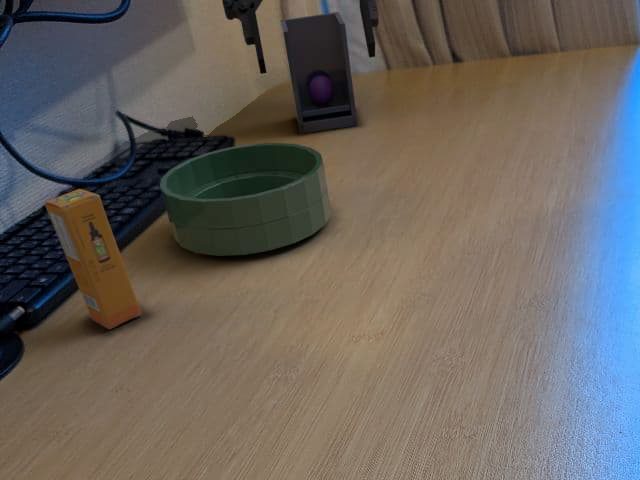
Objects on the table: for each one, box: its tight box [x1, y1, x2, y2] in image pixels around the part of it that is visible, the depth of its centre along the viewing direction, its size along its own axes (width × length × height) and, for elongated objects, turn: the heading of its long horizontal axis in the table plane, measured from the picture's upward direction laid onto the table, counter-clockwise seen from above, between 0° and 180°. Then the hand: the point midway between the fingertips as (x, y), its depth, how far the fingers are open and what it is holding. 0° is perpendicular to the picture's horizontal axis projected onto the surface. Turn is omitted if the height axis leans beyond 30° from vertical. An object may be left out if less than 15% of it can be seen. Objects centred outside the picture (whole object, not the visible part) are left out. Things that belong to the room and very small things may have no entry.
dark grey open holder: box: [279, 11, 359, 135], centre depth 101 cm, size 7×7×11 cm
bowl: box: [159, 142, 332, 257], centre depth 78 cm, size 15×15×6 cm
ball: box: [309, 76, 334, 105], centre depth 103 cm, size 3×3×3 cm
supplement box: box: [44, 188, 142, 330], centre depth 65 cm, size 3×3×10 cm
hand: (317, 58), depth 100 cm, fingers open, 13 cm apart
